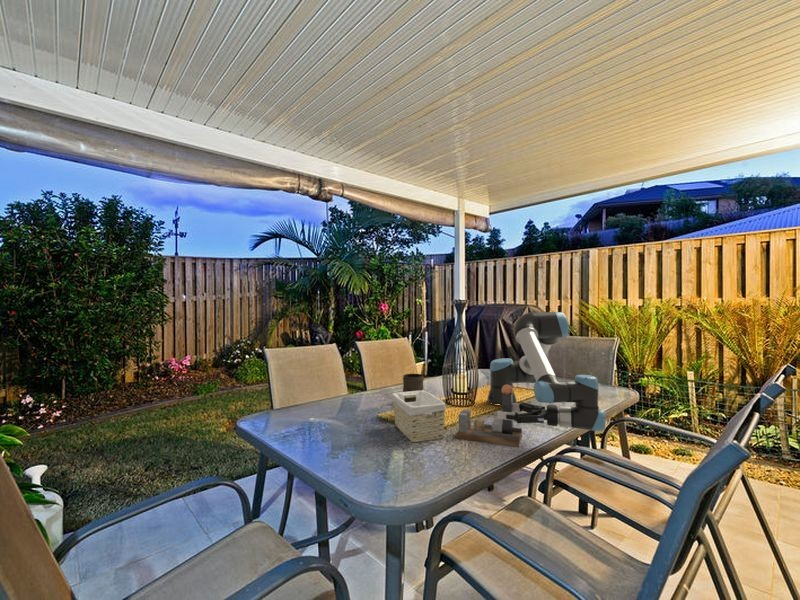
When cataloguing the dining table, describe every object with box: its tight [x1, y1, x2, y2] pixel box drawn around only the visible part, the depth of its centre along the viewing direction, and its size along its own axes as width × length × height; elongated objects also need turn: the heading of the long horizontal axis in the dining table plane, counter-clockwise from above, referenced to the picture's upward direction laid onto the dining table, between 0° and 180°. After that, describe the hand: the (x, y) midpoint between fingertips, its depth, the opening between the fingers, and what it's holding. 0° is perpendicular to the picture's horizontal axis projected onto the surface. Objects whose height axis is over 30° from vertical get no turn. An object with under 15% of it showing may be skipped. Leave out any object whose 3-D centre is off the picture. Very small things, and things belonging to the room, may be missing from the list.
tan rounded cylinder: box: [473, 419, 485, 431], centre depth 151 cm, size 4×4×4 cm
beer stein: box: [402, 373, 425, 402], centre depth 181 cm, size 15×11×20 cm
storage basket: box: [391, 389, 447, 443], centre depth 157 cm, size 24×16×15 cm
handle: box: [491, 385, 514, 435], centre depth 147 cm, size 7×8×19 cm
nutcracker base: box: [455, 408, 523, 447], centre depth 149 cm, size 12×24×9 cm, turn 66°
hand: (500, 410), depth 148 cm, fingers open, 13 cm apart
